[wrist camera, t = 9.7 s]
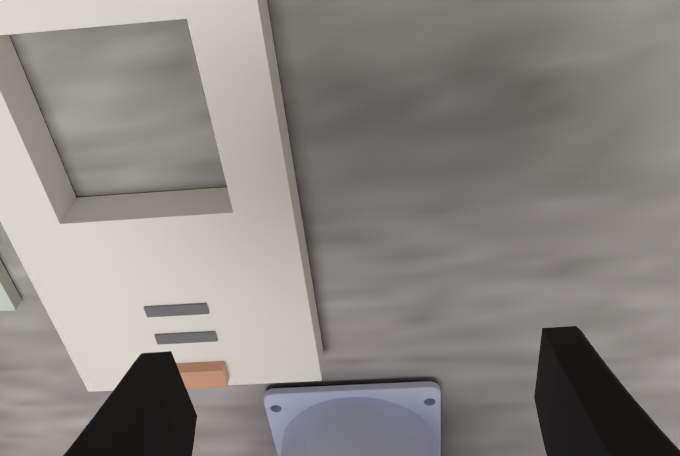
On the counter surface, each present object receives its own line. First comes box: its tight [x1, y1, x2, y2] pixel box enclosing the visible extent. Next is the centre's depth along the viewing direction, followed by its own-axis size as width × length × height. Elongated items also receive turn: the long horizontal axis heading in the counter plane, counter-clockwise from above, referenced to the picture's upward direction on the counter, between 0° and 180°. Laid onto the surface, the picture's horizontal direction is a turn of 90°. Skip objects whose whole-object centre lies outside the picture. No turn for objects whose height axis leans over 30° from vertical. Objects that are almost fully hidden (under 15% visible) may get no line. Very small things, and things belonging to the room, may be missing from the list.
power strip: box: [0, 0, 324, 392], centre depth 22 cm, size 18×10×2 cm, turn 5°
